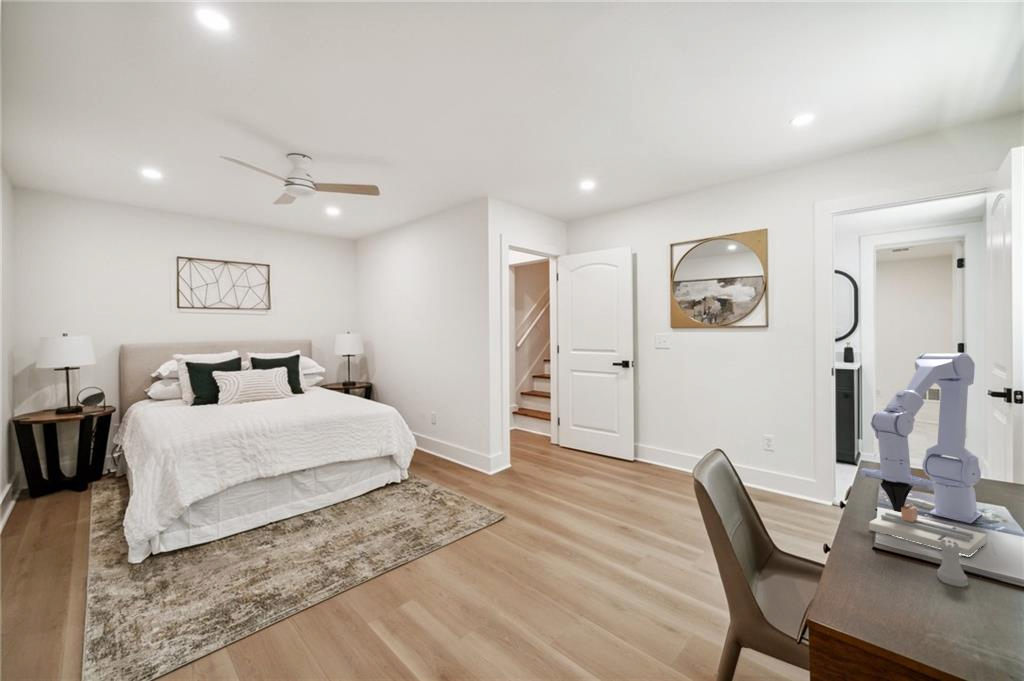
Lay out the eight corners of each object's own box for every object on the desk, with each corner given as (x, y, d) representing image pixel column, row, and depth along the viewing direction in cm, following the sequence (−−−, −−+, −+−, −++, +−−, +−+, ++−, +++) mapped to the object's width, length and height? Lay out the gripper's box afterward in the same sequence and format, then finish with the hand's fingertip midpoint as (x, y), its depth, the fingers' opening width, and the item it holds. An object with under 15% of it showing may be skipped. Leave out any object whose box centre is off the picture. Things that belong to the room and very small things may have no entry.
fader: (907, 519, 108) (906, 503, 108) (917, 522, 106) (916, 506, 106) (902, 523, 106) (900, 506, 106) (912, 525, 104) (911, 509, 104)
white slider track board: (889, 517, 114) (888, 506, 114) (986, 542, 99) (985, 530, 99) (869, 529, 109) (868, 518, 109) (969, 558, 93) (968, 544, 93)
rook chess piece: (975, 588, 83) (972, 548, 83) (948, 587, 83) (945, 547, 84) (956, 576, 87) (953, 537, 87) (931, 575, 88) (928, 537, 88)
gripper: (853, 455, 112) (857, 505, 112) (926, 467, 100) (930, 524, 100) (865, 450, 116) (869, 499, 116) (937, 461, 103) (942, 516, 103)
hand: (898, 510), depth 108 cm, fingers closed
